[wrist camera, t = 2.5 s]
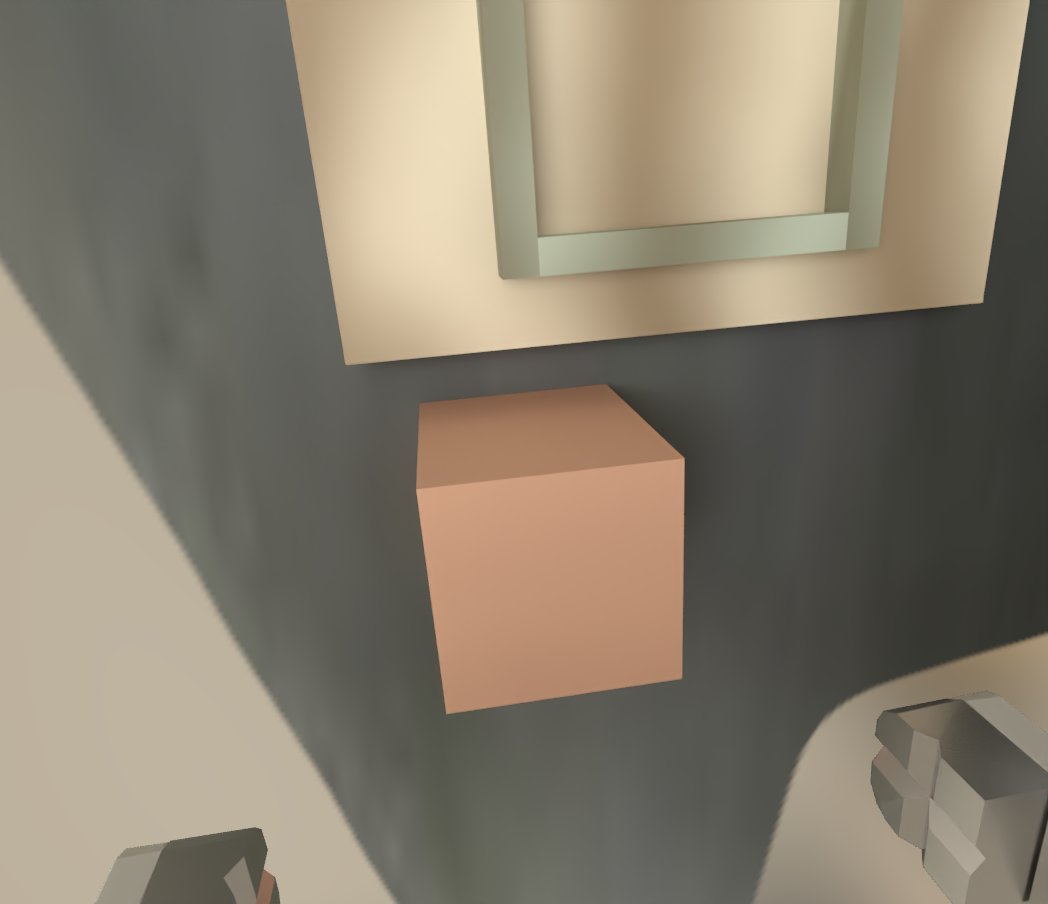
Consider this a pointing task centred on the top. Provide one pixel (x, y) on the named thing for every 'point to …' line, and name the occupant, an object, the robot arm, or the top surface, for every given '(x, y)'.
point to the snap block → (550, 545)
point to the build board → (649, 163)
